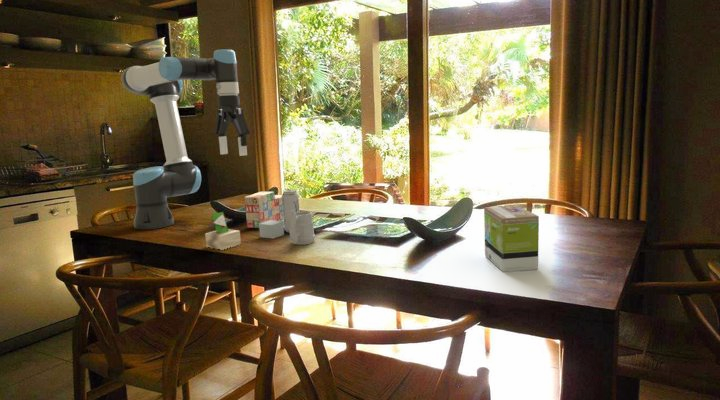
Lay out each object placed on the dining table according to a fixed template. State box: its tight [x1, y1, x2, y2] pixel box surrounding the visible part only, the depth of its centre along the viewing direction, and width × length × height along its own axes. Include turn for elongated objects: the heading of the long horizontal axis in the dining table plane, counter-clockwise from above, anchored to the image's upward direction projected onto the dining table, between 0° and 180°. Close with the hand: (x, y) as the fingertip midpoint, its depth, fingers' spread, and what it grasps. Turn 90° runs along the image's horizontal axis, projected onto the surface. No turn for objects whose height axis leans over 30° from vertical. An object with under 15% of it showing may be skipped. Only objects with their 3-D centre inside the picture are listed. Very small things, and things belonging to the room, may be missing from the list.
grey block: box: [258, 220, 285, 239], centre depth 184 cm, size 6×6×5 cm
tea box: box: [483, 204, 540, 273], centre depth 140 cm, size 15×10×15 cm, turn 5°
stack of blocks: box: [244, 191, 284, 229], centre depth 207 cm, size 21×6×12 cm, turn 159°
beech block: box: [204, 228, 242, 251], centre depth 173 cm, size 8×8×5 cm
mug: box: [288, 210, 316, 246], centre depth 171 cm, size 8×12×12 cm, turn 156°
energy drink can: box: [281, 189, 301, 233], centre depth 189 cm, size 6×6×15 cm
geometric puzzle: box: [208, 211, 233, 233], centre depth 172 cm, size 7×7×8 cm
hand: (233, 154), depth 187 cm, fingers open, 13 cm apart
